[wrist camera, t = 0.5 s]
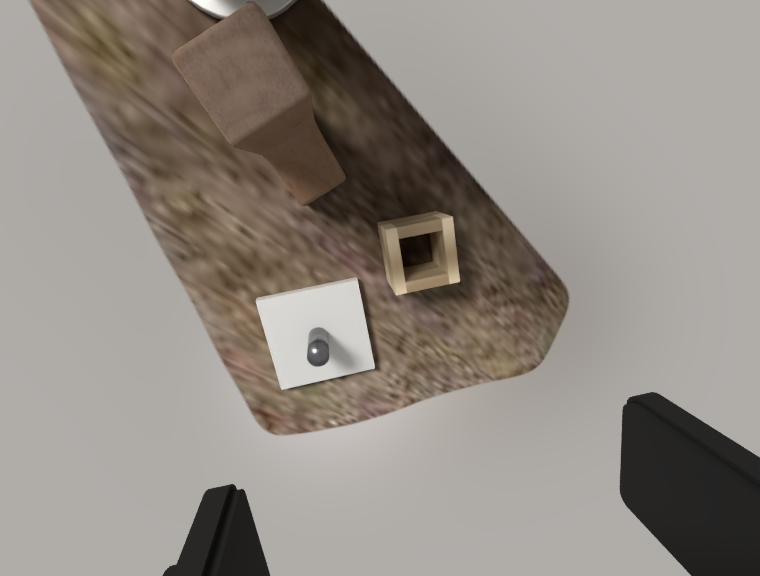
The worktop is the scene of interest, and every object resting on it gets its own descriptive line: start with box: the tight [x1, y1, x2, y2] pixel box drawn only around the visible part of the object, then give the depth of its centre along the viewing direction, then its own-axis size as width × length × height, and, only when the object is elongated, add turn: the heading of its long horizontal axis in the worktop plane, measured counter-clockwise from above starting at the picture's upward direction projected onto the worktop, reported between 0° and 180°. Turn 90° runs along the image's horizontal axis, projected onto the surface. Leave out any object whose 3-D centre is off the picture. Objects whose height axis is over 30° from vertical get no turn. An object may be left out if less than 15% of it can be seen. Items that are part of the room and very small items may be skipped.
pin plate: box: [256, 277, 375, 390], centre depth 37 cm, size 10×10×6 cm
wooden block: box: [172, 2, 346, 206], centre depth 26 cm, size 9×4×18 cm, turn 31°
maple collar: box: [377, 211, 460, 295], centre depth 36 cm, size 6×6×5 cm
